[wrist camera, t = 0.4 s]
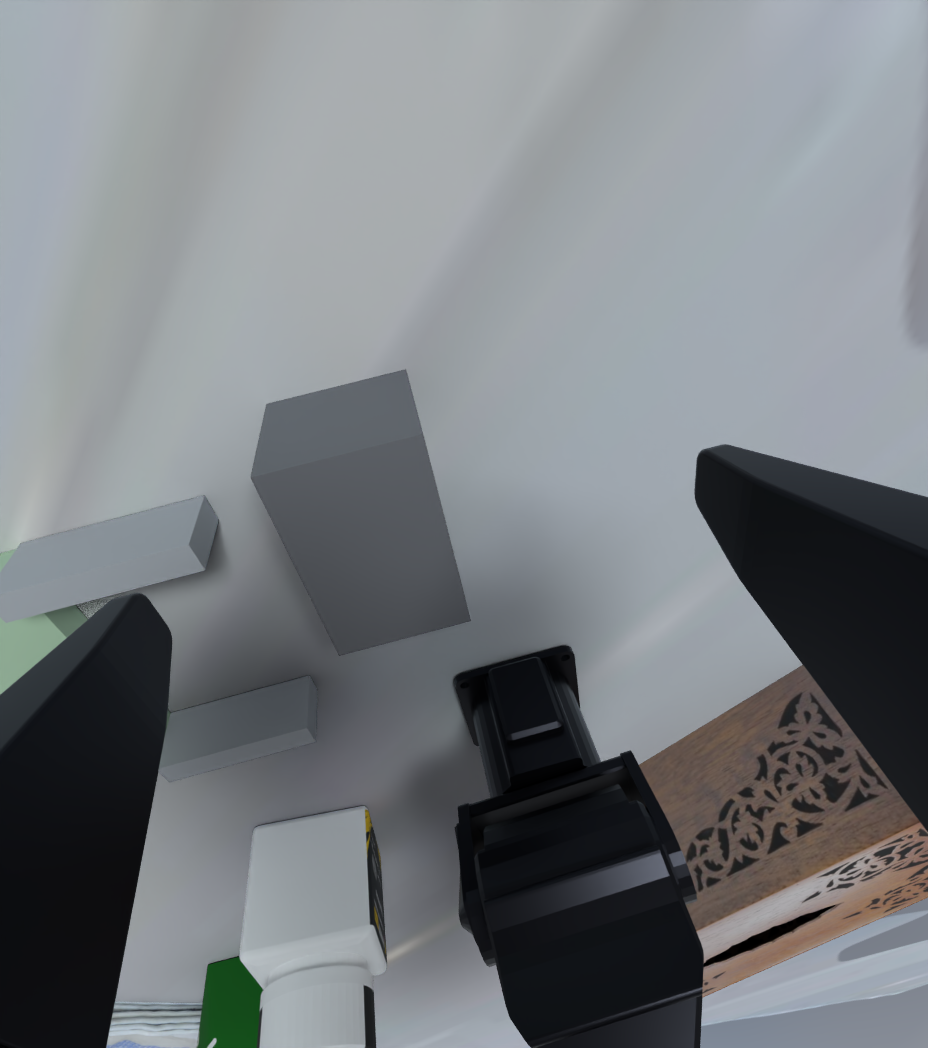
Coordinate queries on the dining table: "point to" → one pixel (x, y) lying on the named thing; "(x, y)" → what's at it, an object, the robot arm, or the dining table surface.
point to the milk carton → (229, 1007)
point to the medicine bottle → (315, 930)
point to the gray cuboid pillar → (360, 511)
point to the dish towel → (154, 1025)
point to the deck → (125, 564)
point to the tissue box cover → (785, 830)
